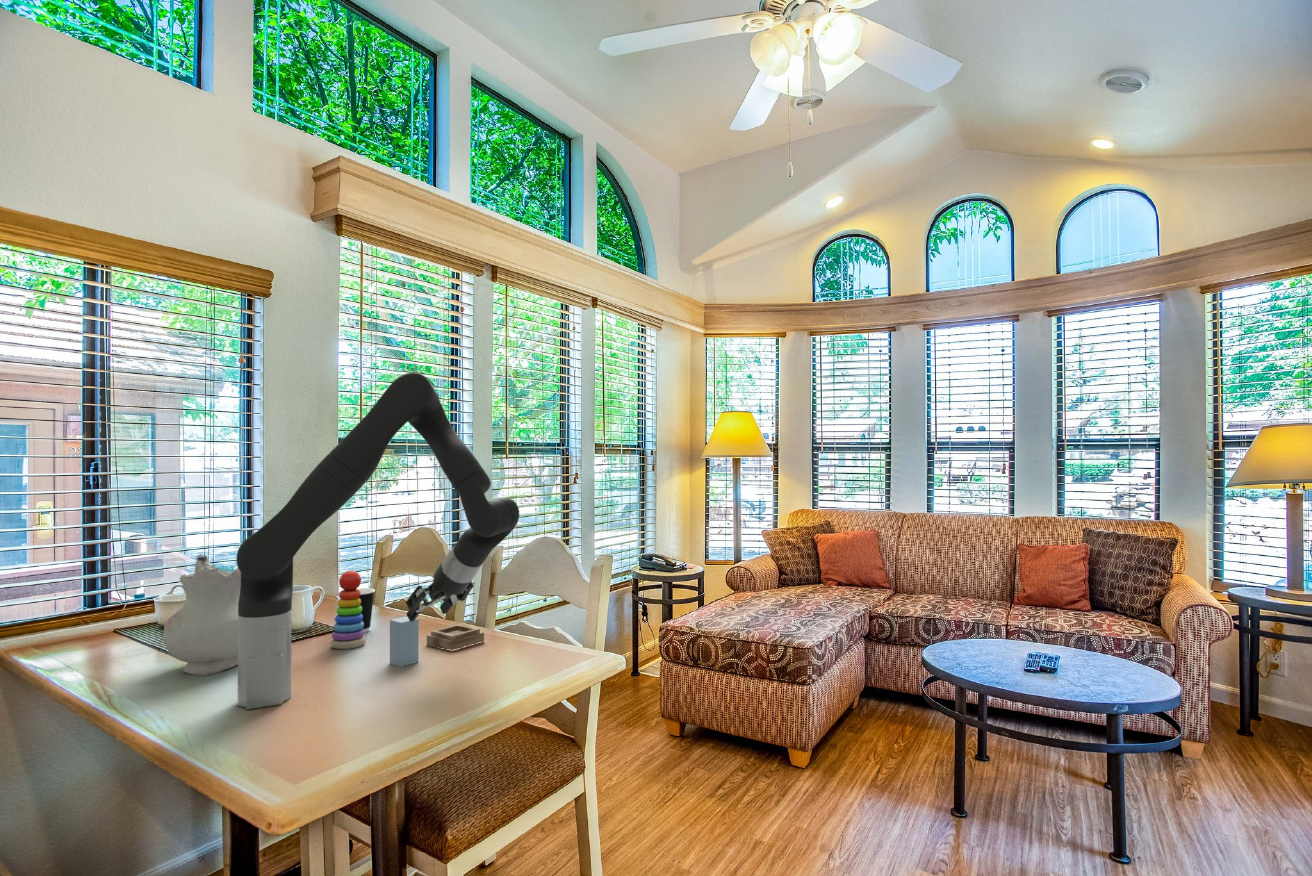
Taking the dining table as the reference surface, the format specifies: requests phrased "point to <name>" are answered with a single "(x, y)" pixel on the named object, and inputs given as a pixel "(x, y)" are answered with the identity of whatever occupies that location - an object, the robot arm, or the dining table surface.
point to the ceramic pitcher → (206, 620)
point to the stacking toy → (348, 614)
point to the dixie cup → (366, 606)
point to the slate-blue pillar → (403, 641)
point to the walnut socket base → (455, 637)
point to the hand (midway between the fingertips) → (426, 614)
